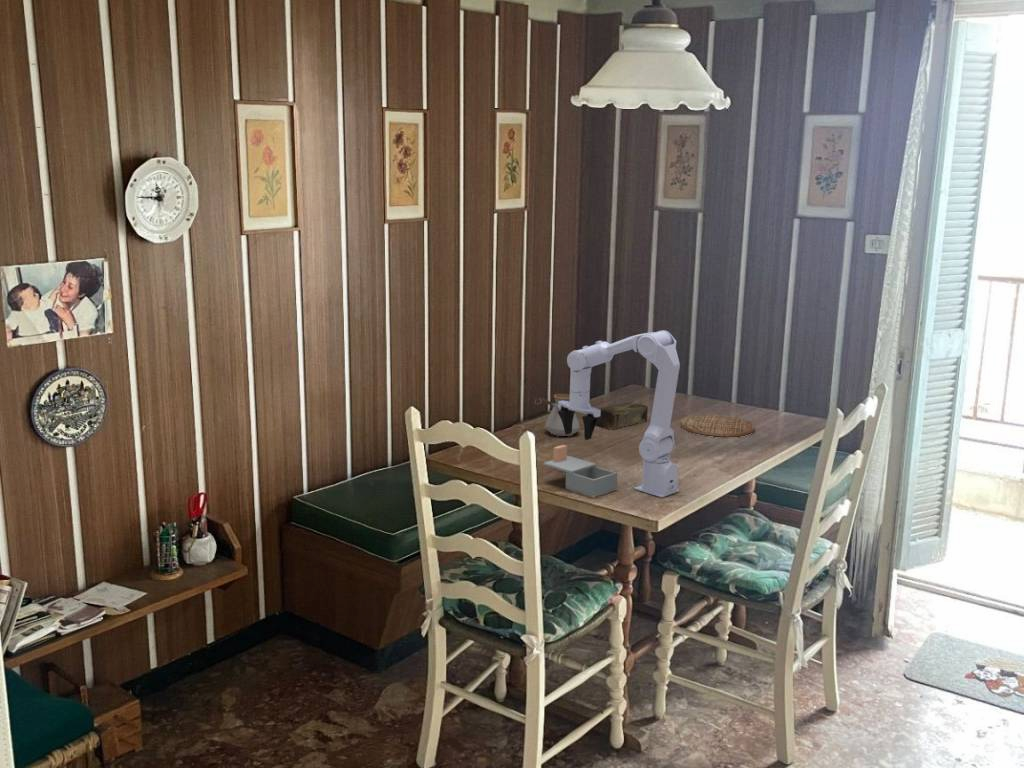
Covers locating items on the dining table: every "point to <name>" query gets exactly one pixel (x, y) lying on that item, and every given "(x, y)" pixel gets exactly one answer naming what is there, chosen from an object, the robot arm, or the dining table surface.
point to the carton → (592, 481)
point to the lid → (567, 461)
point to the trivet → (717, 425)
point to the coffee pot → (558, 417)
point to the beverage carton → (622, 415)
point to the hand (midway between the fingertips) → (577, 436)
